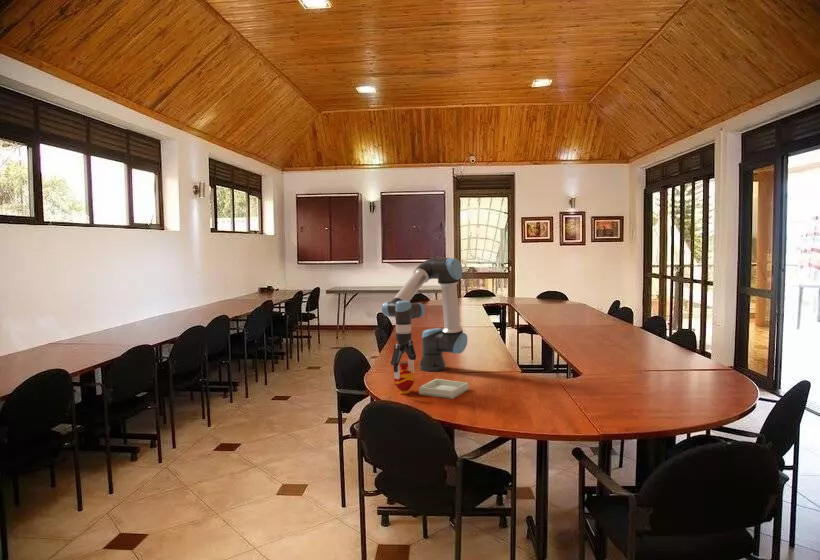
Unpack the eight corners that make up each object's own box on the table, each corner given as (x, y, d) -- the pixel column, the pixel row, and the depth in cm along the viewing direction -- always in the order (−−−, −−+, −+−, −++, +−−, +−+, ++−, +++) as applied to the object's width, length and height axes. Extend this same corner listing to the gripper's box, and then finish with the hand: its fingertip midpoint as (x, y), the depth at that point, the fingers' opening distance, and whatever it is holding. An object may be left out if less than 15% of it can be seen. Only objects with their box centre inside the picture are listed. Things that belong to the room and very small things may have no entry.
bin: (436, 385, 275) (436, 378, 275) (468, 389, 266) (468, 382, 266) (419, 394, 260) (418, 387, 260) (452, 399, 251) (452, 391, 251)
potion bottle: (397, 396, 258) (396, 365, 257) (392, 390, 268) (391, 360, 267) (418, 394, 260) (417, 363, 259) (412, 388, 270) (411, 359, 269)
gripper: (409, 328, 275) (410, 369, 276) (383, 335, 253) (383, 380, 254) (422, 329, 271) (423, 371, 272) (396, 336, 249) (397, 382, 251)
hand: (404, 375), depth 263 cm, fingers open, 13 cm apart
